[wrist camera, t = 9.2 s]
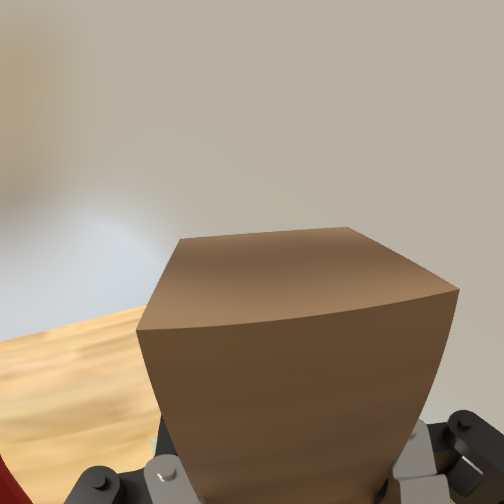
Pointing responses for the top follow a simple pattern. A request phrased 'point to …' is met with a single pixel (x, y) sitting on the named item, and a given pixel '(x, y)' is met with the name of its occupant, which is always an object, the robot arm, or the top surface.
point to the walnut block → (292, 362)
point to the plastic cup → (10, 488)
